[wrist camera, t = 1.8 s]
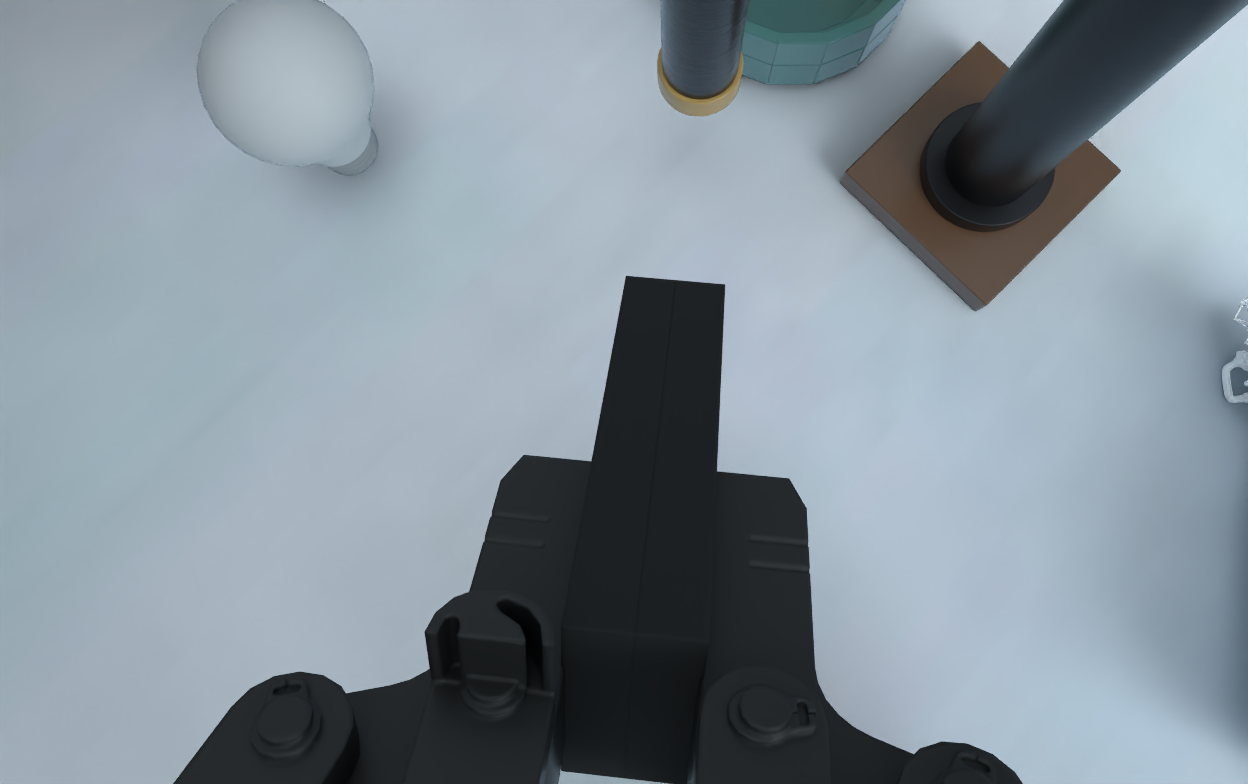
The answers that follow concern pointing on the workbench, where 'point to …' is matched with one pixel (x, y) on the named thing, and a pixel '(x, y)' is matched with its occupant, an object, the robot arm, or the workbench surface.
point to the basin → (812, 37)
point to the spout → (701, 53)
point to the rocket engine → (1241, 360)
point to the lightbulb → (289, 84)
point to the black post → (1021, 137)
